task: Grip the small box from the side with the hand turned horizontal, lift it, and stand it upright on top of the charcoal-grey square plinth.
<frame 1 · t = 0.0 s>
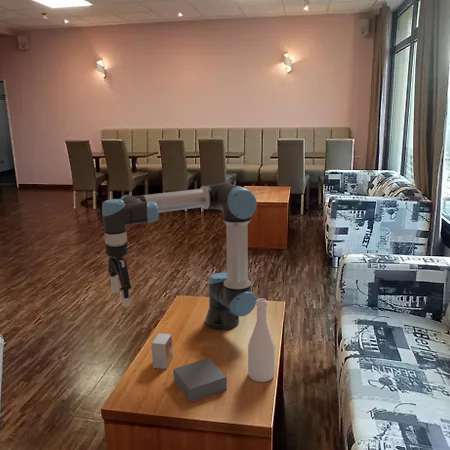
hand: (120, 299, 164), 28 cm above the table, tool pointing down, fingers open, 13 cm apart
wine bottle: (261, 375, 165), on the table
small box: (163, 363, 174), on the table
plinth: (199, 385, 159), on the table
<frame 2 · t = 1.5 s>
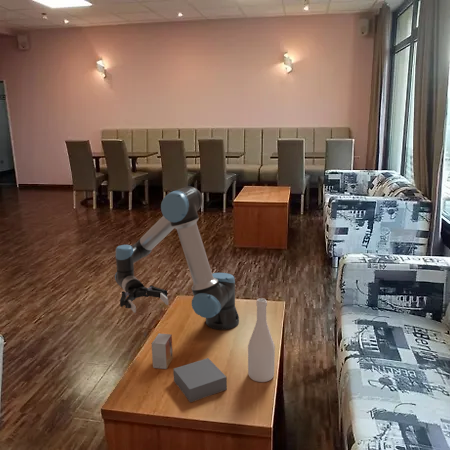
hand: (151, 305, 177), 20 cm above the table, tool horizontal, fingers open, 13 cm apart
nothing on the table moved.
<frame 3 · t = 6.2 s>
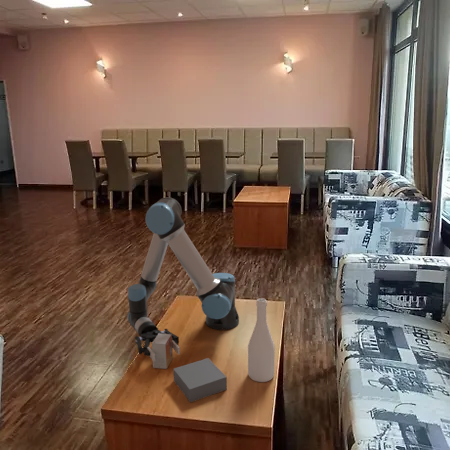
hand: (166, 354, 168), 6 cm above the table, tool horizontal, fingers closed on small box, 9 cm apart
small box: (163, 363, 174), on the table, touching gripper
everything else where it was.
when the fingers open (12 cm above the table, at t = 12.3 s): small box drops 1 cm, resting on plinth.
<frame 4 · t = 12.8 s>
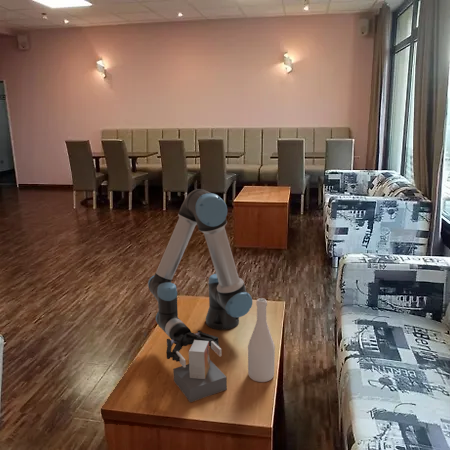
hand: (203, 358, 153), 12 cm above the table, tool horizontal, fingers open, 13 cm apart
small box: (200, 373, 158), point 5 cm above the table, touching plinth
everything else where it was.
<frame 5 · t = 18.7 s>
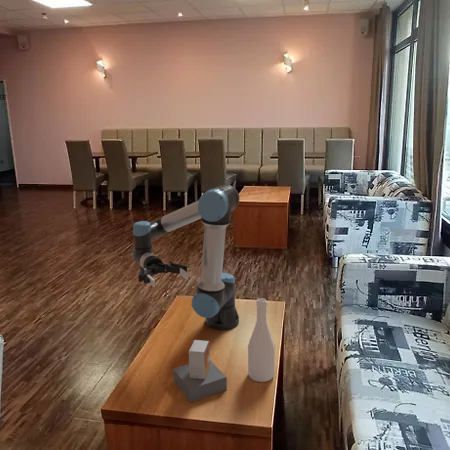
hand: (171, 280, 170), 32 cm above the table, tool horizontal, fingers open, 13 cm apart
nothing on the table moved.
at the end: small box inside the target area on the plinth (0.2 cm from its centre), point 4.8 cm above the plinth's base; small box tilted 0°; the gripper is holding nothing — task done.
